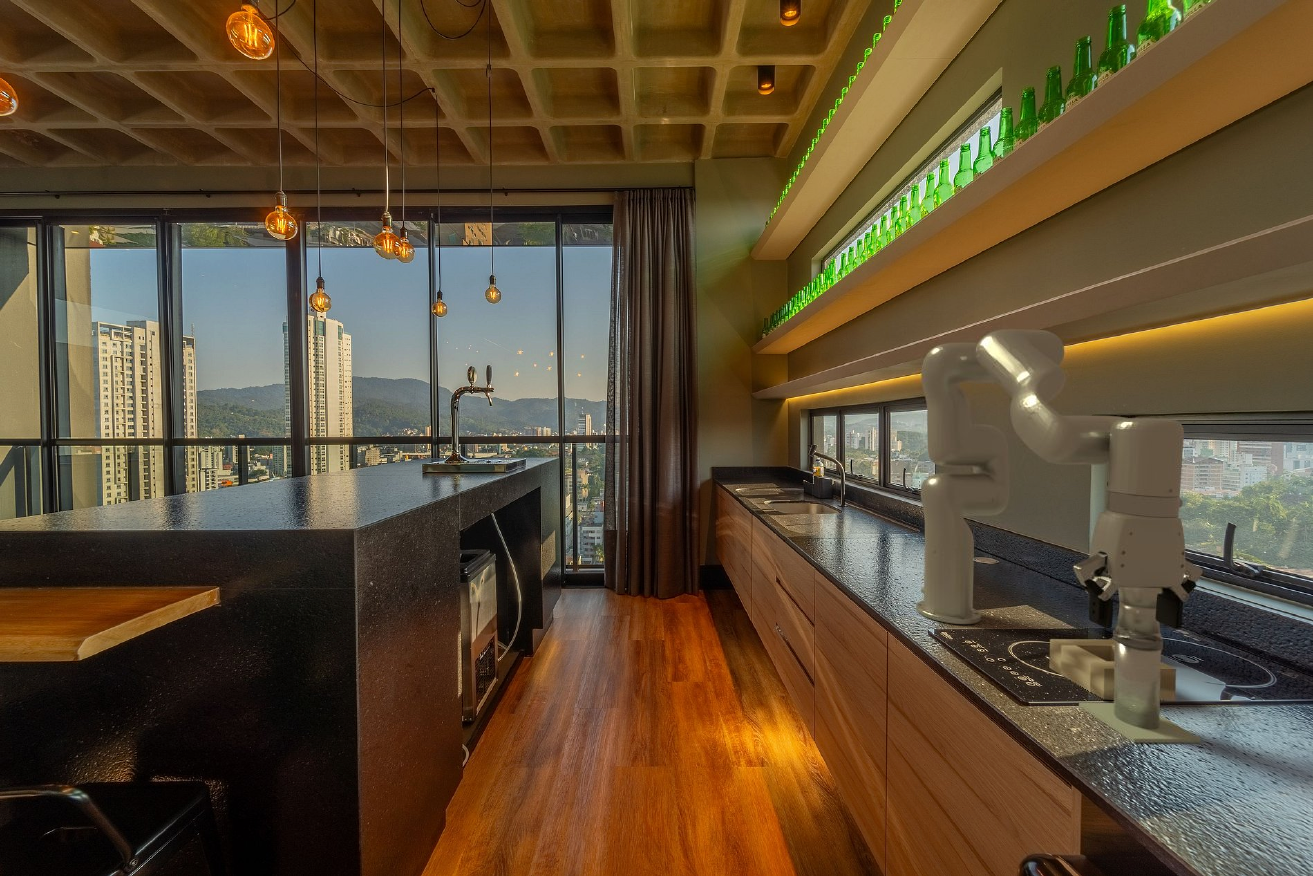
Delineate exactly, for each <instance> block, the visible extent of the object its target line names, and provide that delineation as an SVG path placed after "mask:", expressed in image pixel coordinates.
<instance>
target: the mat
mask: <svg viewBox="0 0 1313 876" xmlns="http://www.w3.org/2000/svg"><path fill="white" fill-rule="evenodd" d="M1078 707H1080V708H1082V710H1084V711H1086V712H1087V713H1089V714H1090V715H1092V716H1093V717H1095V718H1096V719H1097V720H1099V721H1101V722H1103V724H1106V726H1108V727H1110V728H1111V729H1112V730H1114V731H1116V732H1117V733H1119V734H1120V735H1122V736H1123V737H1125V738H1126V739H1128V740H1129V741H1131V742H1132V743H1155V744H1156V743H1159V744H1160V743H1165V744H1166V743H1172V744H1173V743H1174V744H1176V743H1177V744H1178V743H1180V744H1181V743H1183V744H1186V743H1187V744H1188V743H1189V744H1190V743H1191V744H1192V743H1194V744H1195V743H1196V744H1197V743H1199V744H1202V738H1201V737H1198V736H1197V735H1195V734H1193V733H1192V732H1190V731H1188V730H1186V729H1185V728H1183V727H1182V726H1180V725H1178V724H1176V723H1174V722H1173V721H1171V720H1170V719H1167V718H1165V717H1164V716H1161V715H1160V723H1159V728H1157V729H1144V728H1140V727H1136V726H1133V725H1130V724H1127V723H1125V722H1123V721H1121V720H1119V719H1118V718H1116V717H1115V716H1114V702H1079V703H1078Z"/></svg>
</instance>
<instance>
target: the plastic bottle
mask: <svg viewBox="0 0 1313 876" xmlns="http://www.w3.org/2000/svg"><path fill="white" fill-rule="evenodd" d="M1117 591H1118V601H1119V602H1118V605H1119V608H1118V615H1117V624H1116V626H1115V629H1133V630H1138V631H1143V632H1147V633H1150V634H1153V635H1156V636H1158V637H1160V638H1161V639H1162V640H1163V637H1162V633H1161V628H1160V626H1161V625H1160V622H1158V621H1157V620H1156V619H1155V617H1156V602H1157V594H1162V592H1161V591H1160V589H1159V588H1123V587H1119V588H1118V589H1117ZM1162 652H1163V649H1161V653H1162Z"/></svg>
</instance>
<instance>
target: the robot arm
mask: <svg viewBox="0 0 1313 876" xmlns="http://www.w3.org/2000/svg"><path fill="white" fill-rule="evenodd" d="M1064 357H1065V347H1064V343H1063V342H1062V339H1061V338H1059V336H1058V335H1057V334H1055V333H1053V332H1051V331H1049V330H1044V329H1017V328H1015V329H1013V328H1009V329H1008V328H1007V329H1006V328H1005V329H998V330H994V331H992V332H991V331H990V332H989V333H987V334H986V335H983V336H982V338H981V339H980V340H979V341H978V342H948V343H947V342H946V343H942V344H938V345H936V346H934V347H933V348H931V349H930V350H929V351H928V352H927V354H926V356H925V357H924V359H923V362H922V366H921V374H920V376H921V377H920V379H921V385H922V389H923V394H924V397H925V401H926V402H925V403H926V410H927V411H926V421H927V422H926V425H927V430H926V431H927V434H926V435H927V452H928V457H929V460H930V461H931V462H932V463H933V464H935V465H937V466H941V467H950V468H951V467H953V468H956V467H957V468H960V467H961V468H962V467H963V468H967V467H969V468H972V470H973V472H943V473H942V472H939V473H935V474H932V475H930V476H928V477H927V478H925V479H924V480H923V482H922V483H921V486H920V500H921V504H922V509H923V518H924V566H923V567H924V572H923V573H924V575H923V577H924V578H923V580H924V581H923V587H921V588H920V592H921V594H923V600H921V601H919V602H916V603H915V604H916V606H915V609H916V612H918V613H919V614H920V615H921V616H923V617H926V618H928V619H930V620H934V621H937V622H941V623H943V622H944V623H948V624H956V625H971V624H977V623H979V622H980V621H981V619H982V615H981V613H980V611H978V610H977V609H975V608H973V606H974V605H973V602H974V601H973V600H974V597H973V596H974V565H975V563H974V561H975V559H974V558H975V557H974V555H975V553H974V551H975V549H974V548H975V545H974V544H975V540H974V539H975V538H974V535H973V532H972V530H971V528H970V526H969V525H968V523H967V522H966V520H965V518H964V517H987V516H988V517H989V516H997V515H1000V514H1001V513H1002V512H1004V511H1005V509H1007V506H1008V503H1009V499H1010V453H1009V452H1010V451H1009V444H1008V441H1007V438H1006V436H1005V434H1004V433H1003V431H1001V429H999V428H998V427H996V426H994V425H990V424H984V423H983V424H982V423H981V424H980V423H978V424H977V423H976V424H974V423H972V416H971V415H972V414H971V412H972V409H971V403H970V400H969V398H968V396H967V395H966V393H965V391H964V390H963V388H961V386H959V384H961V383H969V384H970V383H971V384H984V383H985V384H998V385H999V386H1000V387H1001V388H1002V389H1003V390H1004V391H1005V393H1007V394H1008V395H1009V396H1010V397H1011V402H1010V407H1009V414H1010V422H1011V424H1012V425H1011V426H1012V428H1013V430H1014V432H1015V433H1016V435H1017V436H1018V437H1019V438H1020V439H1021V441H1022V442H1023V443H1024V444H1025V445H1026V446H1027V447H1028V448H1029V450H1030V451H1032V452H1033V453H1034V454H1035V455H1036V456H1037V457H1039V458H1041V460H1044V461H1045V462H1047V463H1050V464H1054V465H1055V464H1057V465H1093V466H1094V465H1099V466H1100V465H1101V466H1103V465H1104V466H1106V465H1107V480H1106V481H1107V483H1106V500H1105V502H1106V503H1105V511H1104V512H1100V513H1099V516H1098V517H1097V518H1096V521H1095V522H1096V523H1095V527H1094V528H1093V534H1092V538H1091V543H1090V544H1091V545H1090V549H1089V550H1090V551H1089V557H1088V558H1087V559H1084V560H1083V561H1080V562H1078V563H1076V564H1074V565H1073V569H1072V570H1073V572H1074V574H1075V575H1076V578H1077V579H1078V584H1079V585H1080V586H1081V587H1082V588H1083V589H1084V591H1085V593H1086V594H1088V595H1089V605H1088V606H1089V607H1088V619H1089V621H1090V622H1092V623H1093V624H1095V625H1098V626H1100V627H1102V628H1103V629H1112V627H1113V618H1114V617H1113V615H1114V601H1113V600H1111V599H1110V598H1111V597H1112V596H1113V595H1114V594H1115V593H1116V591H1118V588H1119V587H1123V588H1159V589H1160V591H1161V594H1157V602H1156V617H1155V619H1156V620H1157V621H1158V622H1159V624H1160V623H1161V624H1163V625H1165V626H1168V627H1170V628H1172V629H1176V630H1181V629H1182V623H1183V613H1184V612H1183V611H1184V602H1187V601H1188V600H1189V598H1190V595H1189V594H1191V592H1192V591H1193V590H1194V589H1196V587H1197V582H1198V581H1199V579H1200V578H1201V576H1202V574H1203V572H1204V571H1203V568H1201V567H1200V566H1197V565H1196V564H1194V563H1192V562H1190V561H1188V560H1186V544H1185V543H1186V542H1185V534H1184V528H1183V523H1182V522H1183V521H1182V518H1180V517H1179V516H1180V508H1181V507H1183V505H1184V502H1183V500H1182V499H1181V485H1182V483H1181V482H1182V468H1183V467H1182V466H1183V465H1182V464H1183V455H1184V454H1183V452H1184V451H1183V450H1184V438H1185V437H1184V436H1185V433H1184V431H1185V429H1184V427H1183V425H1182V423H1181V422H1179V421H1178V420H1175V419H1170V418H1169V419H1168V418H1155V417H1153V418H1152V417H1151V418H1149V417H1148V418H1147V417H1146V418H1145V417H1144V418H1143V417H1142V418H1141V417H1139V418H1138V417H1134V418H1133V417H1131V418H1130V417H1129V418H1128V417H1124V416H1123V417H1122V416H1117V415H1116V416H1115V415H1062V414H1060V413H1059V412H1058V411H1056V410H1055V409H1054V408H1053V407H1052V406H1051V405H1050V404H1049V402H1050V401H1051V400H1053V399H1055V398H1056V397H1057V396H1058V395H1059V394H1060V393H1061V392H1062V390H1063V389H1064V387H1065V386H1066V385H1065V384H1066V381H1067V376H1066V375H1067V374H1066V373H1065V371H1064V369H1063V368H1062V367H1061V364H1062V363H1063V360H1064ZM1103 586H1104V587H1103ZM1102 587H1103V588H1102Z"/></svg>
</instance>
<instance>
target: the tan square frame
mask: <svg viewBox="0 0 1313 876" xmlns="http://www.w3.org/2000/svg"><path fill="white" fill-rule="evenodd" d="M1114 657H1115V640H1114V639H1100V638H1099V639H1095V638H1093V639H1092V638H1091V639H1086V638H1084V639H1082V638H1081V639H1078V638H1075V639H1074V638H1073V639H1072V638H1071V639H1070V638H1069V639H1066V638H1064V639H1063V638H1062V639H1060V638H1058V639H1057V638H1051V639H1050V638H1049V664H1048V665H1049V666H1048V667H1049V668H1050V669H1051V670H1052V671H1054V672H1056V673H1057V674H1059V675H1060V676H1062V677H1064V678H1066V679H1067V680H1068V681H1070V680H1071V682H1072V683H1073V684H1075V683H1076V686H1078V685H1079V686H1078V687H1080V686H1081V687H1080V688H1082V687H1083V688H1084V690H1085V689H1086V690H1085V691H1087V690H1088V691H1089V692H1088V691H1087V692H1088V693H1090V692H1092V693H1093V694H1096V695H1097V696H1099V697H1101V698H1103V699H1108V700H1109V699H1110V700H1114ZM1176 683H1177V669H1176V668H1175V667H1172V666H1170V665H1168V664H1166V663H1164V662H1162V661H1161V670H1160V700H1161V701H1160V702H1176V689H1177V688H1176V686H1177V685H1176ZM1083 688H1082V689H1083ZM1093 694H1092V695H1093ZM1163 700H1164V701H1163Z"/></svg>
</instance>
